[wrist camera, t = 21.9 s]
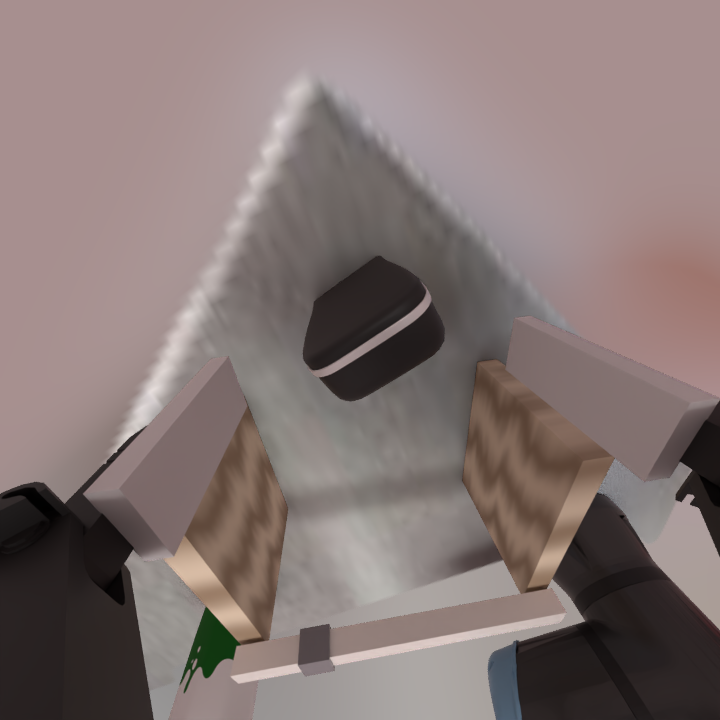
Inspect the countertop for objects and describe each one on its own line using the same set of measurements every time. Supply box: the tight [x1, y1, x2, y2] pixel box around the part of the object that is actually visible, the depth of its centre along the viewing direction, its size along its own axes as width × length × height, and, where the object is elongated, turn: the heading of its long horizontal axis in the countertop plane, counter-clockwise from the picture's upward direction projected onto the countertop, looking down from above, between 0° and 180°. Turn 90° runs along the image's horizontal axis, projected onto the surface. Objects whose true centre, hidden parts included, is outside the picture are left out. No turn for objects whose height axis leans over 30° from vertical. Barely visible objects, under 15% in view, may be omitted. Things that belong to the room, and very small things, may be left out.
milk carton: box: [169, 607, 258, 720], centre depth 32 cm, size 9×9×20 cm
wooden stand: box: [164, 359, 614, 645], centre depth 24 cm, size 18×27×12 cm, turn 96°
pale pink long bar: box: [230, 588, 567, 684], centre depth 22 cm, size 3×27×2 cm, turn 96°
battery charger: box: [303, 256, 445, 401], centre depth 16 cm, size 7×4×11 cm, turn 124°
